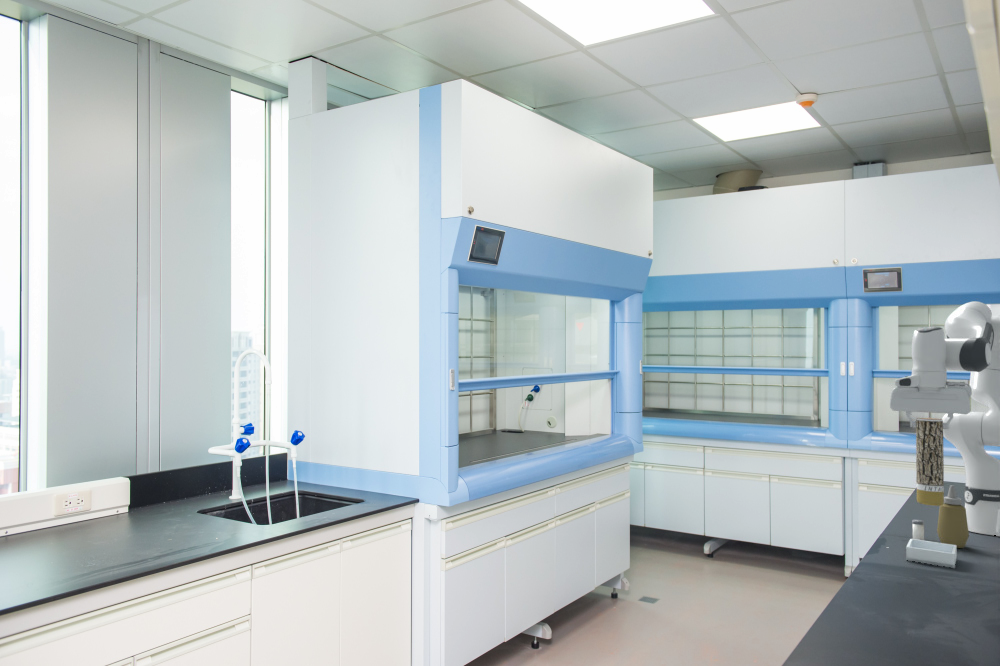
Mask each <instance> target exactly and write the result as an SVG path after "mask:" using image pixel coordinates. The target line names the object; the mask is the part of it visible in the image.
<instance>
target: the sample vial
mask: <svg viewBox="0 0 1000 666" xmlns="http://www.w3.org/2000/svg"><path fill="white" fill-rule="evenodd" d="M911 522H912V539H916V540H923V541H925V521H924V520H921V519H912V520H911Z"/></svg>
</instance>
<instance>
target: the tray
mask: <svg viewBox="0 0 1000 666" xmlns="http://www.w3.org/2000/svg"><path fill="white" fill-rule="evenodd" d="M905 549H906V550H905V551H906V553H905V554H906V556H905V557H906V560H908V561H907V562H912V561H915V562H914V563H918V562H921V563H920V564H924V563H927V564H926V565H930V564H932V566H937V565H938V567H943V566H945V567H944V568H949V567H951V569H956V565H955V564H957V560H956V559H957V558H958V557H957V553H958V551H957V549H958V548H957V545H951V544H944V543H941V542H937V541H930V540H929V541H928V540H924V541H923V540H916V539H913V538H910V539H909V540H908V542H907V544H906V547H905Z"/></svg>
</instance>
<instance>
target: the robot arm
mask: <svg viewBox="0 0 1000 666" xmlns="http://www.w3.org/2000/svg"><path fill="white" fill-rule="evenodd" d="M945 333H946V334H945ZM912 334H913V335H912V339H911V340H912V341H911V359H912V368H911V375H909V376H908V375H906V376H904V377H900V378H896V379H895V380H894V386H895V387H894V388H892V390H891V393H890V400H889V408H890V410H892V411H893V412H905V416H906V417H907V419H908V420H909V423H910V425H909V427H910V428H916V420H914V419H913V417H912V416H913V415H912V414H913V413H930V414H931V413H934V414H944V415H943V416H942V418H941V419H943V439H945V440H946V441H948V442H950V444H952V445H953V446H954V447H955V448H956V449H957V451H958V452H959V454H960V455H961V458H962V460H963V464H964V472H965V473H964V475H965V484H964V486H963V487H964V488H963V496H964V497H963V499H964V507H965V508H966V516H967V524H968V532H972V533H977V534H981V535H988V536H994V535H996V536H995V537H1000V459H998V458H996V457H995V456H993V455H990V454H988V452H987V451H986V449H985V446H988V447H1000V315H993V314H992V311H991V308H990V307H989V306H988V305H987V304H985V303H984V302H981V301H970V302H966V303H964V304H962V305H959V307H956V309H955V310H953V311H952V312H951V313H950V314H949V315H948V316H947V318H946V319H945V323H944V328H943V327H940V326H924V327H923V326H922V327H918V328H916V329H915V330H914V331H913V333H912ZM945 335H946V336H945ZM948 371H965V372H970V376H969V383H966V382H965V381H960V382H959V381H958V382H957V381H956V382H955V381H948V374H947V373H948ZM970 398H971V399H972V400H973V401H975V402H976V403H978V404H980V405H983V406H985V407H987V408H988V410H987V411H983V412H982V411H971V401H970Z"/></svg>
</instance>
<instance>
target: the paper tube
mask: <svg viewBox="0 0 1000 666" xmlns="http://www.w3.org/2000/svg"><path fill="white" fill-rule="evenodd" d="M915 421H916V427H915V441H916V442H915V443H916V444H915V445H916V447H915V451H916V452H915V455H916V456H915V457H916V458H915V460H916V462H915V464H916V467H915V471H916V480H915V481H916V484H915V485H916V502H917V503H918V504H921V505H924V506H931V507H932V506H935V507H936V506H937V507H940V506H941V505H943V504H944V497H945V495H944V494H945V491H944V490H945V489H944V487H945V486H944V485H945V483H944V480H945V479H944V478H945V476H944V472H945V471H944V467H945V466H944V463H945V462H944V436H943V419H942V418H933V417H916V419H915Z"/></svg>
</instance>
